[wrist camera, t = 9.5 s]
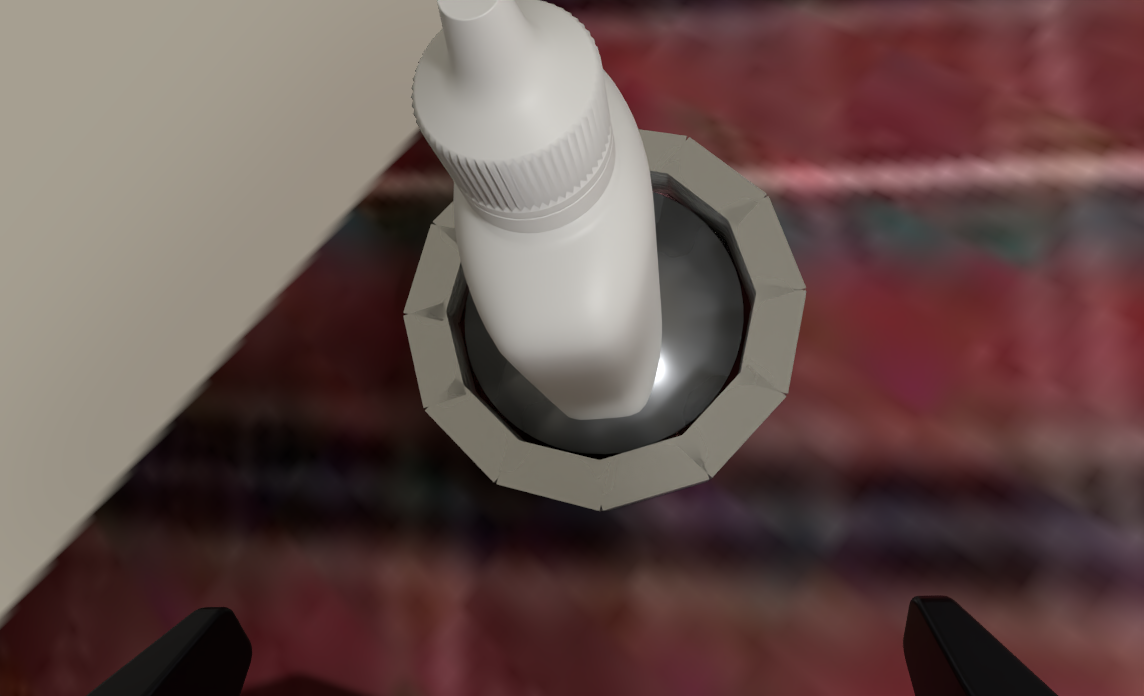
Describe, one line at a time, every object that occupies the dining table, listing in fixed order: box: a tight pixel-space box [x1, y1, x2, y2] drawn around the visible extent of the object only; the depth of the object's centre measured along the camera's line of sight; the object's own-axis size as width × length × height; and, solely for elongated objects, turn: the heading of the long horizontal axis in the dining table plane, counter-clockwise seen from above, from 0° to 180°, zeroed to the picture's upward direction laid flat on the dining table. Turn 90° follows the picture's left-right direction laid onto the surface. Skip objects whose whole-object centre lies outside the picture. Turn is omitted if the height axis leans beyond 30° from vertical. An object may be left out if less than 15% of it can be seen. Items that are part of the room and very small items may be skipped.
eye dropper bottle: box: [411, 0, 662, 420], centre depth 12 cm, size 4×6×12 cm
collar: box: [403, 129, 806, 511], centre depth 18 cm, size 10×10×1 cm
